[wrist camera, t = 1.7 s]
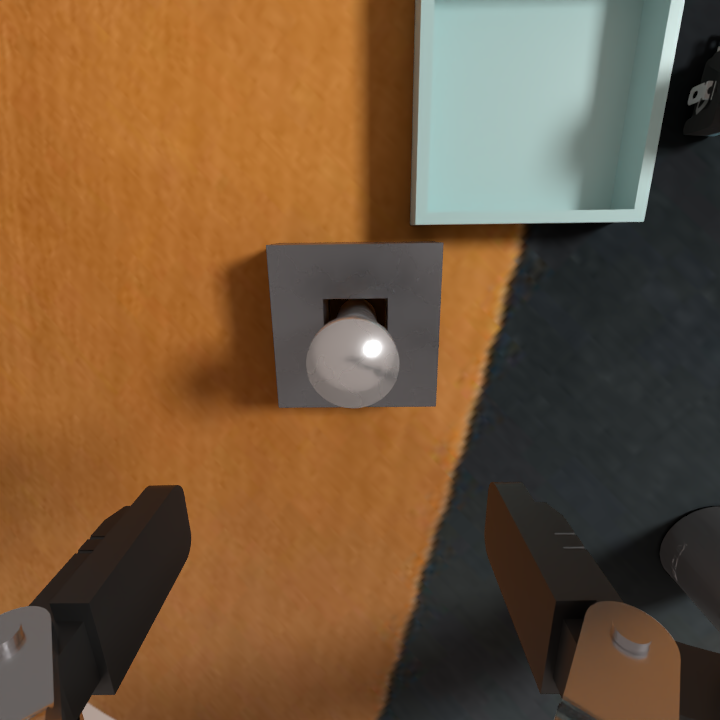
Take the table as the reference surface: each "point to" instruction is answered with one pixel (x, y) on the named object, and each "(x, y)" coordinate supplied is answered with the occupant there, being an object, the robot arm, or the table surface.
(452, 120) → the tray
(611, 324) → the table surface
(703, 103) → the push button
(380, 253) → the hitch block
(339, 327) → the steel pin
